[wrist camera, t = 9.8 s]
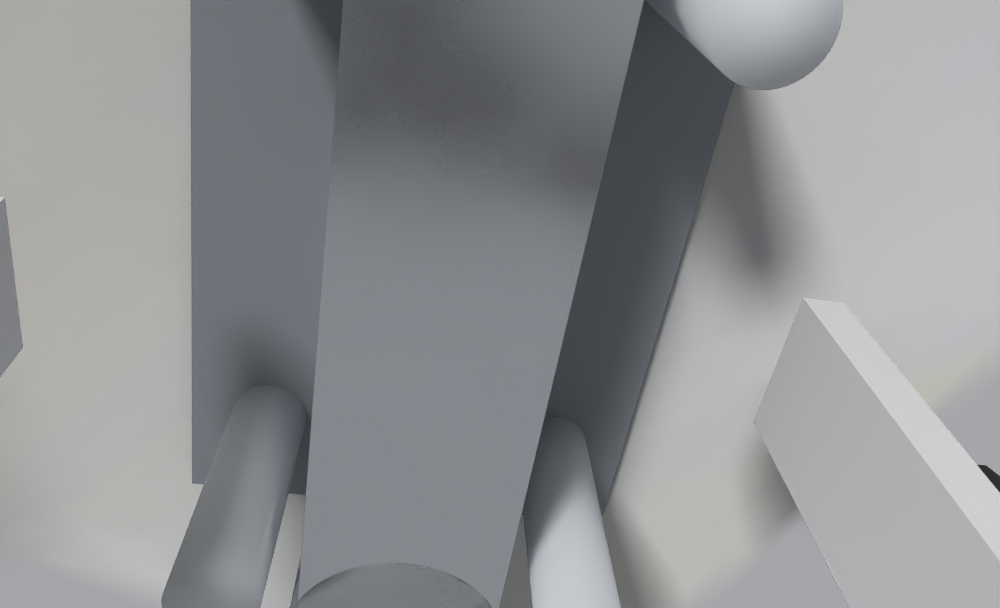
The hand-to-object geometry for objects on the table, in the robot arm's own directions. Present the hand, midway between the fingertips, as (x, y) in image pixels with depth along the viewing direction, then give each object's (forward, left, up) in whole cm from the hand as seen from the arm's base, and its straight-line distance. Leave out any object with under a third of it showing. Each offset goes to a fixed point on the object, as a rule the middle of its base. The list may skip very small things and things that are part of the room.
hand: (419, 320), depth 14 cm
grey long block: (0, 0, -5) cm, 5 cm away
